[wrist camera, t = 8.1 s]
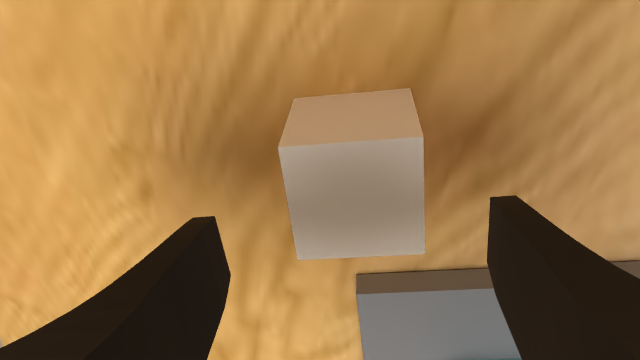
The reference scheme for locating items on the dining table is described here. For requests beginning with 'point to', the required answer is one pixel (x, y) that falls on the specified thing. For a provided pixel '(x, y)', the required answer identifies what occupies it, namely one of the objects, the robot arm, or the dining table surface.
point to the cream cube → (354, 175)
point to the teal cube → (500, 359)
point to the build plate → (436, 315)
